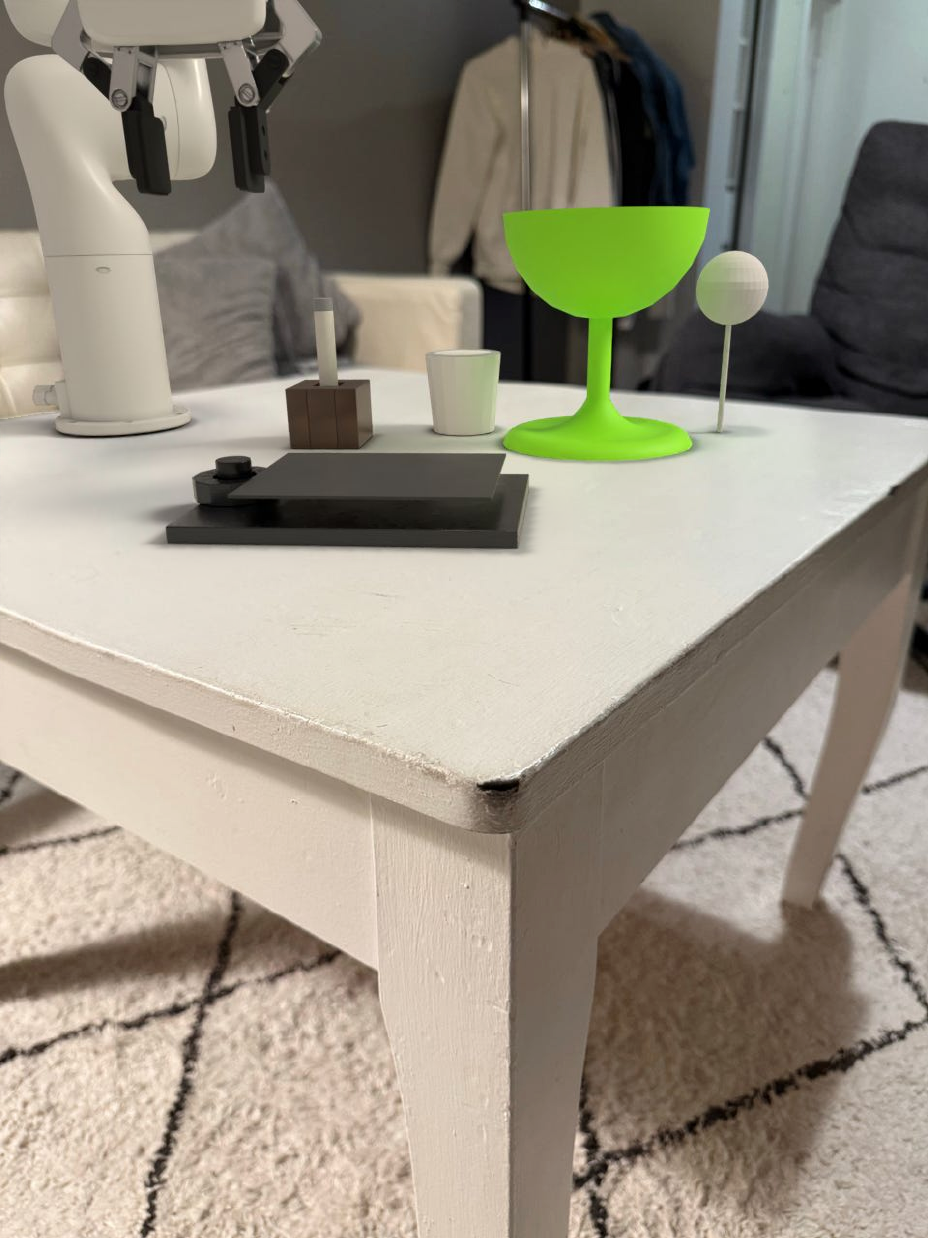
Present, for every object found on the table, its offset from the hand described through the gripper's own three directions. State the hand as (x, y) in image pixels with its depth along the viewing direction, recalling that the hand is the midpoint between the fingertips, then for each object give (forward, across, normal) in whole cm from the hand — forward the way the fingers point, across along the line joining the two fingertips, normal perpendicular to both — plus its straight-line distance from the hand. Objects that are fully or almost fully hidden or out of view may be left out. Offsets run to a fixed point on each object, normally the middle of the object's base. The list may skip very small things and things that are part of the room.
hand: (202, 188), depth 51 cm
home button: (+17, 0, 0) cm, 17 cm away
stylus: (+19, 0, -24) cm, 30 cm away
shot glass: (+19, -11, -30) cm, 37 cm away
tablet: (+19, -8, 0) cm, 21 cm away
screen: (+16, -9, 0) cm, 19 cm away
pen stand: (+19, 0, -24) cm, 30 cm away
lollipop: (+19, -34, -29) cm, 49 cm away
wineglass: (+19, -23, -24) cm, 38 cm away
